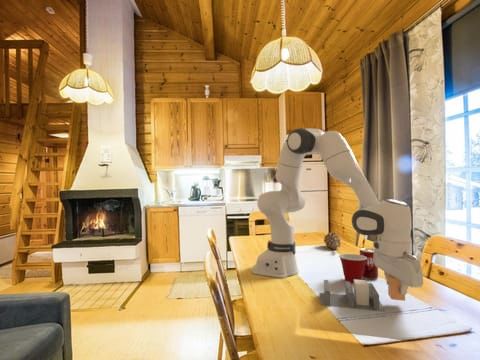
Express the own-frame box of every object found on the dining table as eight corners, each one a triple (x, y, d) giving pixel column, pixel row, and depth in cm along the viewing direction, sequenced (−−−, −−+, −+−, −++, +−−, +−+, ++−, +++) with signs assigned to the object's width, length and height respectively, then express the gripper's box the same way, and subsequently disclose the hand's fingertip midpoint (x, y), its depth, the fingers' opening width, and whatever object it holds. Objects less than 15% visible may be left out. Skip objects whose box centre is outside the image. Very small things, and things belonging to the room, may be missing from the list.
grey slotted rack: (320, 309, 89) (319, 290, 89) (319, 296, 99) (319, 279, 99) (385, 316, 84) (385, 295, 84) (377, 301, 94) (377, 283, 94)
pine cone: (320, 245, 173) (320, 230, 173) (335, 245, 174) (334, 230, 174) (333, 255, 151) (333, 237, 151) (350, 254, 152) (349, 237, 152)
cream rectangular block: (356, 304, 89) (355, 283, 89) (354, 299, 93) (353, 279, 93) (369, 305, 88) (368, 284, 88) (366, 300, 92) (366, 280, 92)
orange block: (391, 299, 87) (391, 278, 87) (388, 294, 91) (388, 273, 90) (405, 300, 86) (404, 279, 85) (401, 295, 89) (401, 274, 89)
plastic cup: (365, 280, 113) (365, 252, 113) (369, 290, 103) (368, 260, 103) (339, 278, 117) (338, 251, 117) (339, 287, 106) (339, 258, 106)
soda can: (380, 280, 113) (379, 252, 113) (362, 279, 114) (361, 252, 114) (375, 274, 120) (374, 248, 120) (358, 273, 122) (357, 247, 122)
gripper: (429, 257, 78) (429, 304, 78) (386, 240, 98) (386, 277, 98) (408, 258, 77) (409, 305, 77) (370, 241, 98) (370, 278, 98)
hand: (396, 289), depth 88 cm, fingers closed on orange block, 5 cm apart
